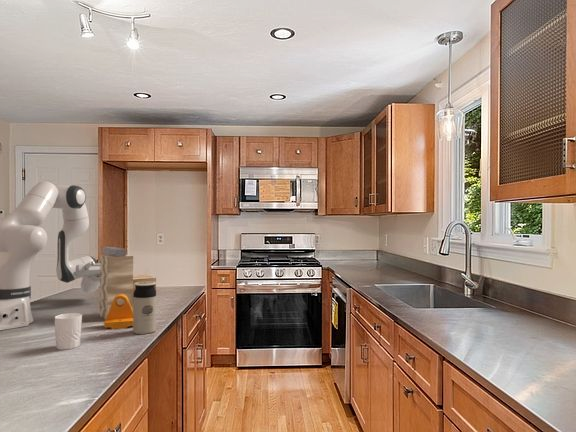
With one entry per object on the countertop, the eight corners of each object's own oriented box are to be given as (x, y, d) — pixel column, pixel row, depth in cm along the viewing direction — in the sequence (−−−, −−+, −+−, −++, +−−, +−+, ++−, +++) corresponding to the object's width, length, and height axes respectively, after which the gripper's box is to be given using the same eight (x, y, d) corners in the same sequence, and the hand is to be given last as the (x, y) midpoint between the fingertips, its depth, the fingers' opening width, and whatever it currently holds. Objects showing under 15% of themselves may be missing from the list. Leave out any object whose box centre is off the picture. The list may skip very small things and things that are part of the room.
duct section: (102, 253, 185) (102, 247, 185) (112, 253, 188) (112, 246, 188) (116, 256, 170) (116, 249, 170) (126, 256, 172) (126, 249, 172)
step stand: (99, 315, 177) (100, 255, 177) (145, 309, 190) (146, 253, 190) (107, 320, 168) (108, 257, 168) (155, 314, 180) (156, 255, 181)
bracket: (103, 329, 154) (104, 297, 154) (105, 325, 161) (106, 294, 161) (134, 327, 158) (134, 296, 158) (135, 323, 164) (135, 293, 165)
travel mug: (133, 329, 154) (133, 281, 154) (155, 328, 157) (155, 281, 157) (132, 335, 147) (133, 285, 147) (156, 333, 150) (156, 284, 150)
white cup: (75, 341, 139) (75, 312, 139) (86, 346, 134) (86, 315, 134) (50, 347, 133) (50, 316, 133) (60, 352, 128) (60, 320, 128)
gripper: (71, 269, 196) (77, 257, 187) (116, 267, 209) (123, 255, 200) (72, 282, 194) (79, 269, 184) (117, 278, 206) (125, 267, 197)
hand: (102, 262), depth 192 cm, fingers open, 8 cm apart
